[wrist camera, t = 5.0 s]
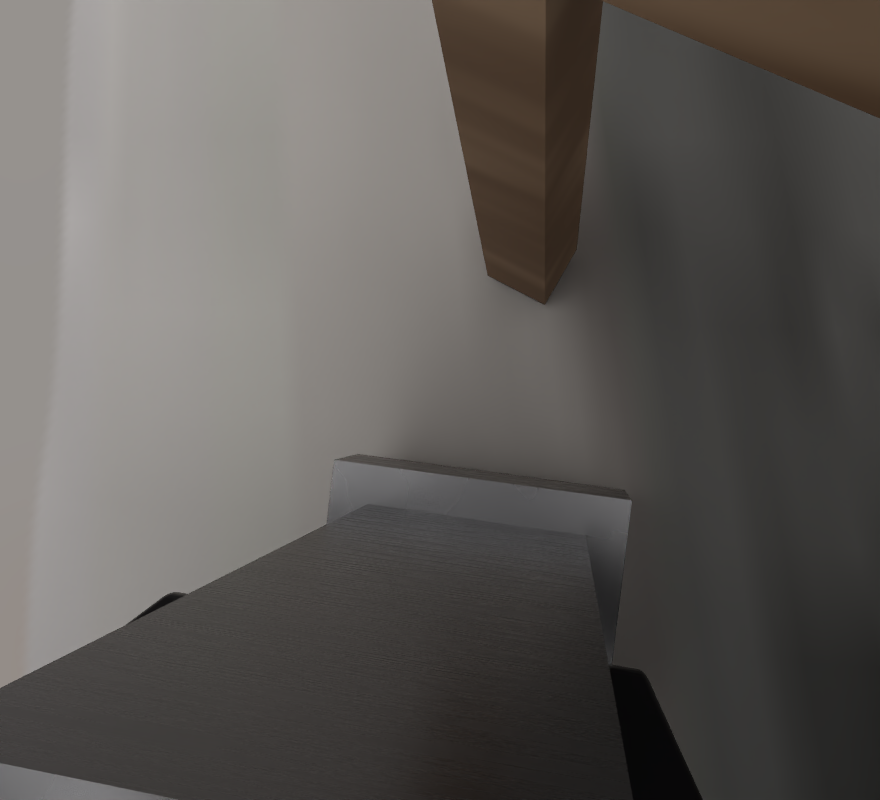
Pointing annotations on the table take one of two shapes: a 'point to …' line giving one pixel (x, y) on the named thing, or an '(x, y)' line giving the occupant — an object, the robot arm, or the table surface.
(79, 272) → the table surface
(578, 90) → the door frame
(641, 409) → the table surface
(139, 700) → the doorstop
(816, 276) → the table surface
